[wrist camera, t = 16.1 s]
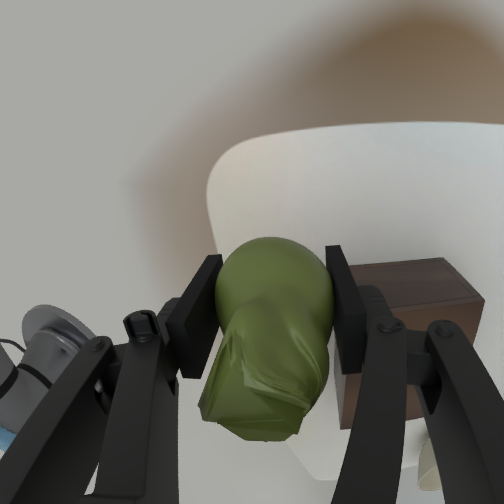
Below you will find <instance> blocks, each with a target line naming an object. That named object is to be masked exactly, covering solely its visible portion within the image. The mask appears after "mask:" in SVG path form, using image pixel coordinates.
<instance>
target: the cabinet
mask: <svg viewBox="0 0 504 504" xmlns="http://www.w3.org/2000/svg"><path fill="white" fill-rule="evenodd" d="M349 268H350V271H351V273H352V276H353V278H354V280H355V283H356V285H357V286H360V285H371V284H373V285H374V286H376V287H377V288H379V289H380V290H381V292H382V294H383V297H384V298H385V300H386V302H387V304H388V306H389V308H390V310H391V312H392V314H393V316H394V317H396V318H398V319H401V320H402V321H403V322H404V323H405V326H406V328H407V329H410V330H419V331H427V328H428V325H429V324H430V323H431V322H433V321H436V320H450V321H452V322H454V323H456V324H458V325H459V327H460V328H461V329H462V331H463V332H464V334H465V335H466V337H467V338H468V340H469V341H470V343H471V345H472V346H473V343H474V340H475V337H476V333H477V330H478V326H479V323H480V319H481V315H482V311H483V307H484V303H485V299H484V298H483V297H482V296H481V295H480V294H479V293H478V292H477V291H476V290H475V289H474V288H473V287H472V286H471V285H470V284H469V282H468V281H467V280H466V279H465V278H464V277H463V276H462V275H461V274H460V273H459V272H458V271H457V270H456V269H455V268H454V267H453V266H452V265H451V264H449V263H448V262H447V261H446V260H445V259H444V258H433V259H422V260H411V261H400V262H388V263H376V264H364V265H351V266H349ZM363 367H364V366H363V365H362V373H363ZM362 373H357V374H347V375H342V372H341V366H340V360H339V354H338V348H337V343H336V337H335V358H334V375H335V384H336V393H337V402H338V412H339V423H340V430H344V429H352V424H353V420H354V415H355V410H356V405H357V400H358V395H359V390H360V384H361V379H362ZM422 417H424V415H423V412H422V408H421V405H420V402H419V399H418V396H417V392H416V389H415V385H407V401H406V421H407V420H413V419H418V418H422Z"/></svg>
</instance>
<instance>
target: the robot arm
mask: <svg viewBox="0 0 504 504" xmlns="http://www.w3.org/2000/svg"><path fill="white" fill-rule="evenodd" d="M325 250H326V269H327V270H328V272H329V275H330V277H331V280H332V283H333V287H334V295H335V312H334V321H333V326H334V332H335V337H336V343H337V348H338V354H339V360H340V366H341V372H342V375H347V374H357V373H362V365H363V366H364V367H363V373H362V379H361V384H360V390H359V395H358V400H357V405H356V410H355V415H354V420H353V424H352V429H351V433H350V437H349V441H348V445H347V449H346V453H345V457H344V461H343V465H342V468H341V472H340V475H339V479H338V482H337V485H336V489H335V492H334V495H333V498H332V502H331V504H396V498H397V492H398V486H399V479H400V472H401V464H402V456H403V446H404V435H405V421H406V401H407V385H415V389H416V392H417V396H418V399H419V402H420V405H421V408H422V412H423V415H424V418H425V422H426V425H427V429H428V432H429V436H430V439H431V443H432V447H433V451H434V455H435V459H436V463H437V467H438V471H439V476H440V480H441V485H442V490H443V494H444V500H445V504H504V401H503V399H502V397H501V395H500V393H499V391H498V389H497V388H496V386H495V384H494V382H493V380H492V378H491V377H490V375H489V373H488V371H487V370H486V368H485V366H484V365H483V363H482V361H481V359H480V358H479V356H478V354H477V353H476V351H475V350H474V348H473V346H472V345H471V343H470V341H469V340H468V338H467V337H466V335H465V334H464V332H463V331H462V329H461V328H460V327H459V325H458V324H456V323H454V322H452V321H450V320H436V321H433V322H431V323H430V324H429V325H428V328H427V331H419V330H410V329H407V328H406V326H405V323H404V322H403V321H402V320H401V319H398V318H396V317H394V316H393V314H392V312H391V310H390V308H389V306H388V304H387V302H386V300H385V298H384V297H383V294H382V292H381V290H380V289H379V288H377V287H376V286H374V285H373V284H371V285H360V286H357V285H356V283H355V280H354V278H353V276H352V273H351V271H350V268H349V266H348V263H347V261H346V259H345V256H344V254H343V252H342V249H341V247H340V245H334V246H325ZM222 266H223V260H222V254H217V255H208V256H207V257H206V259H205V260H204V262H203V264H202V265H201V267H200V268H199V270H198V271H197V273H196V274H195V276H194V278H193V279H192V281H191V282H190V284H189V285H188V287H187V288H186V290H185V291H184V293H183V295H182V296H181V297H179V298H172V299H171V300H169V301H168V302H166V303H165V305H164V306H163V308H162V309H161V311H160V312H159V313H158V315H157V316H156V315H155V313H154V312H153V311H151V310H140V311H136V312H133V313H131V314H129V315H128V316H126V317H125V319H124V320H123V323H124V326H125V328H126V331H127V334H128V337H129V342H128V343H126V344H119V345H113V343H112V341H111V339H110V338H109V337H107V336H97V337H94V338H92V339H90V340H89V341H87V342H86V343H85V344H84V345H83V347H82V348H80V347H79V346H78V345H77V344H76V343H75V342H73V341H72V340H71V339H70V338H68V337H67V336H66V335H64V334H62V333H61V332H59V331H57V330H54V329H51V328H42V329H40V330H38V331H37V332H36V333H35V334H34V335H33V336H32V338H31V340H30V343H29V345H28V347H27V349H26V350H25V349H23V348H22V347H21V346H20V345H19V344H17V343H16V342H14V341H11V340H7V339H0V342H4V343H10V344H13V345H14V346H16V347H17V348H18V349H20V350H21V351H22V352H24V356H23V358H22V360H21V362H20V363H19V365H18V366H17V367H16V366H15V365H14V364H13V362H12V361H11V359H10V358H9V356H8V355H7V353H6V352H5V350H4V348H3V347H2V345H1V344H0V449H1V450H3V451H4V452H5V453H4V455H3V456H2V458H1V460H0V504H179V489H178V394H179V383H178V380H177V377H176V374H177V372H178V370H179V368H180V371H181V374H182V377H183V378H189V379H191V378H192V379H201V377H202V374H203V371H204V368H205V365H206V362H207V360H208V357H209V354H210V351H211V349H212V346H213V343H214V340H215V337H216V334H217V332H218V329H219V326H220V324H219V321H218V317H217V313H216V308H215V285H216V281H217V277H218V274H219V272H220V270H221V268H222ZM98 383H99V385H100V387H101V388H100V389H99V391H97V390H96V389H95V388H96V387H97V384H98ZM98 463H99V466H98V471H97V477H96V483H95V489H94V492H93V493H92V494H88V495H84V494H85V491H86V489H87V486H88V485H89V482H90V480H91V478H92V476H93V474H94V472H95V469H96V467H97V465H98Z"/></svg>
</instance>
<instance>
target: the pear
mask: <svg viewBox="0 0 504 504" xmlns="http://www.w3.org/2000/svg"><path fill="white" fill-rule="evenodd" d="M215 308H216V313H217V317H218V321H219V324H220V327H221V330H222V333H223V335H224V337H223V339H222V342H221V345H220V348H219V350H218V352H217V355H216V358H215V360H214V363H213V366H212V368H211V371H210V374H209V376H208V379H207V382H206V384H205V387H204V390H203V392H202V395H201V397H200V400H199V403H198V407H199V408H200V411H201V416H202V420H204V421H209V422H217V424H218V423H219V424H220V425H222V426H223V427H225V428H226V429H228V430H229V431H231V432H232V433H234V434H236V435H237V436H239V437H241V438H242V439H244V440H247V441H264V442H267V441H285V440H286V439H287V438H289V437H290V436H291V435H293V434H298V432H299V429H300V426H301V423H302V420H303V417H305V416H306V414H307V413H308V412H309V411H310V410H311V409H312V407H313V406H314V405H315V403H316V401H317V400H318V398H319V397H320V395H321V393H322V392H323V390H324V388H325V385H326V382H327V379H328V375H329V353H328V348H327V344H328V342H329V339H330V336H331V332H332V327H333V321H334V312H335V295H334V287H333V283H332V280H331V277H330V275H329V272H328V270H327V269H326V267H325V265H324V264H323V263H322V261H321V260H320V259H319V258H318V257H317V256H316V255H315V254H314V253H313V252H312V251H310V250H309V249H307V248H306V247H304V246H303V245H301V244H299V243H297V242H294V241H291V240H288V239H284V238H279V237H263V238H257V239H254V240H251V241H248V242H246V243H244V244H243V245H241V246H240V247H238V248H237V249H236V250H235V251H234V252H233V253H232V254H231V255H230V256H229V257H228V258H227V260H226V261H225V263H224V264H223V266H222V268H221V270H220V272H219V274H218V277H217V281H216V285H215Z"/></svg>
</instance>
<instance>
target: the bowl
mask: <svg viewBox="0 0 504 504" xmlns="http://www.w3.org/2000/svg"><path fill="white" fill-rule="evenodd" d="M418 466H419V467H418V488H419V489H420V490H423V491H435V490H440V489H442V485H441V480H440V476H439V471H438V467H437V463H436V459H435V455H434V451H433V447H432V443H431V439H430V437H429V439H428V440H427V441H426V443H425V445H424V446H423V448H422V451H421V453H420V457H419V465H418Z"/></svg>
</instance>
